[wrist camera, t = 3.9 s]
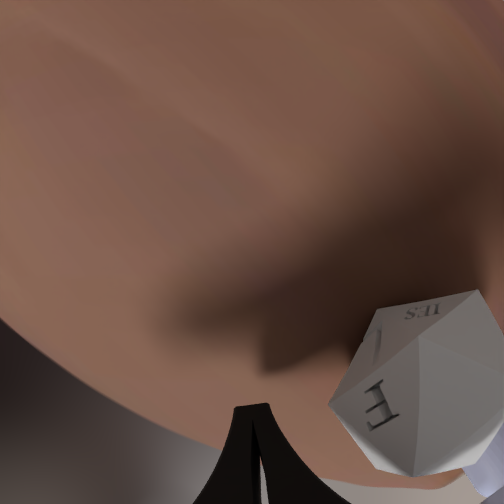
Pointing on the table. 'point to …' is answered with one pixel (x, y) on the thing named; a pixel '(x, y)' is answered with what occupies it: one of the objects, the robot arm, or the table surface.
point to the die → (425, 386)
